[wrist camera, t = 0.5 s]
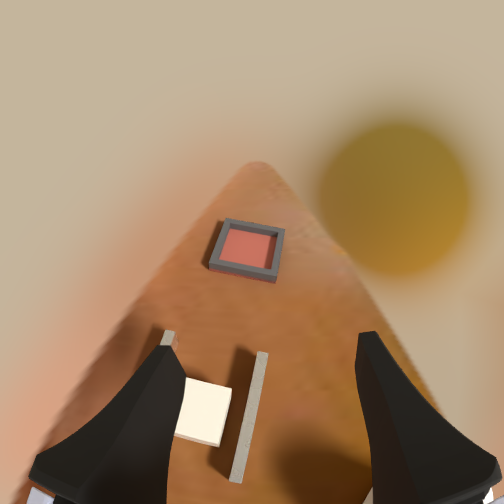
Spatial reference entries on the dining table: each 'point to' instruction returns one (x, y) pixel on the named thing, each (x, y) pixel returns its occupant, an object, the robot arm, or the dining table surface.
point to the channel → (250, 408)
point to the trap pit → (248, 250)
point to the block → (203, 412)
